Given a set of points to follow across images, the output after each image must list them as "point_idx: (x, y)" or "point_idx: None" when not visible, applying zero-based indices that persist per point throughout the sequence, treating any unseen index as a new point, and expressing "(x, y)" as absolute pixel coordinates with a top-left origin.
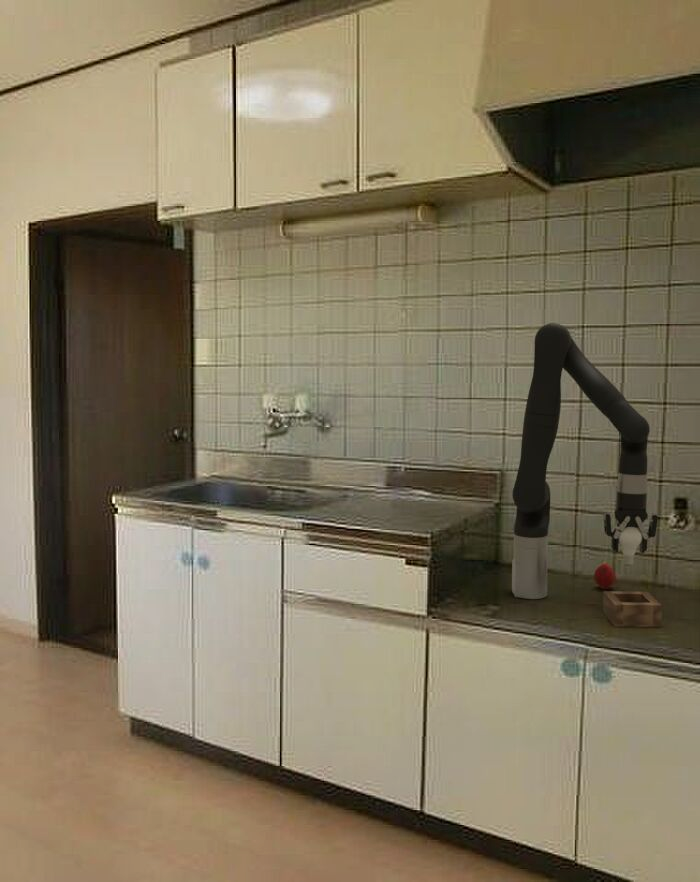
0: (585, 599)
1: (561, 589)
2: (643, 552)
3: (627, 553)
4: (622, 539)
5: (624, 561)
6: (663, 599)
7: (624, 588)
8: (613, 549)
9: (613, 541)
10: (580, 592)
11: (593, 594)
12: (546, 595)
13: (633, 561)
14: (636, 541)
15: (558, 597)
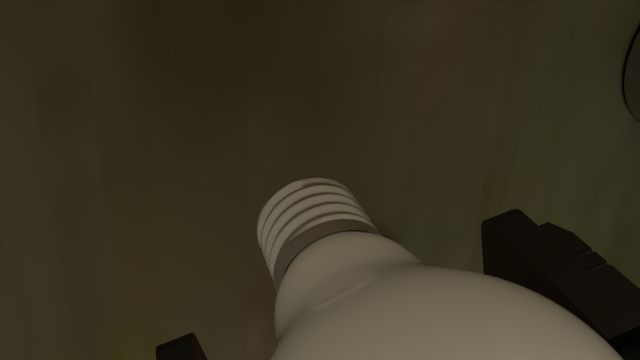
0: (452, 68)
1: (535, 190)
2: (169, 341)
3: (370, 237)
4: (578, 319)
5: (354, 203)
6: (3, 240)
7: (243, 330)
8: (550, 226)
9: (634, 295)
10: (459, 180)
11: (401, 173)
12: (636, 42)
13: (262, 242)
14: (337, 355)
15: (577, 53)
